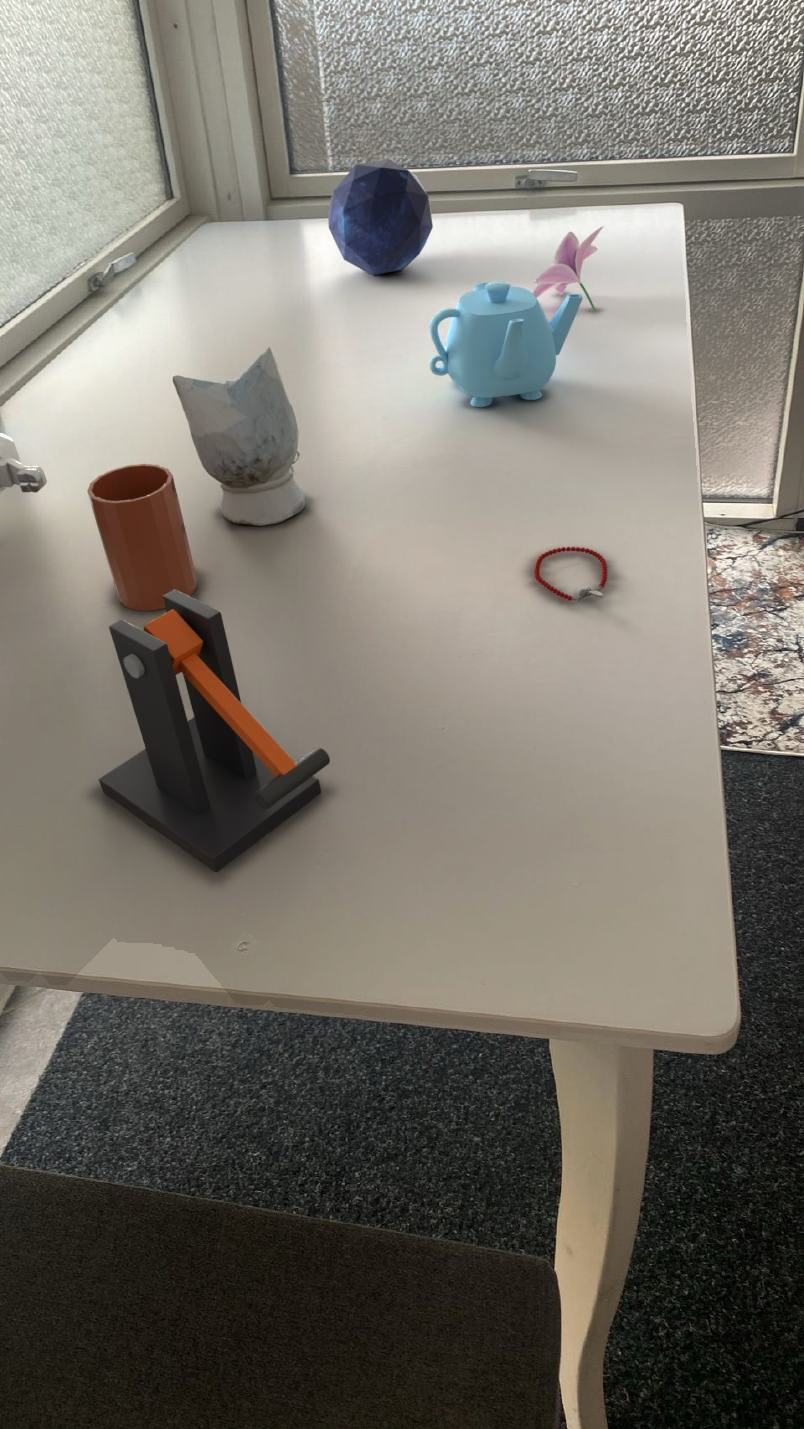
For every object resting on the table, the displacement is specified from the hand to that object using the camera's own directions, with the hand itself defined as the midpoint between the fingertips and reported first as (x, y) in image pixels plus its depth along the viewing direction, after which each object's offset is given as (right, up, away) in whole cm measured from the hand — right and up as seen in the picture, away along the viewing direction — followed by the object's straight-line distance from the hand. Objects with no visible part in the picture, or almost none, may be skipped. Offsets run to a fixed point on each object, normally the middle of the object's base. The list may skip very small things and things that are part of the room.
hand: (15, 505), depth 93 cm
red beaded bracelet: (+46, -7, -3) cm, 47 cm away
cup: (+11, -7, +2) cm, 13 cm away
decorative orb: (+30, +46, +67) cm, 87 cm away
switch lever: (+22, -17, -26) cm, 38 cm away
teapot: (+44, +18, +29) cm, 56 cm away
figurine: (+19, +2, +13) cm, 23 cm away
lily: (+53, +34, +49) cm, 80 cm away
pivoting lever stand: (+20, -23, -19) cm, 36 cm away
